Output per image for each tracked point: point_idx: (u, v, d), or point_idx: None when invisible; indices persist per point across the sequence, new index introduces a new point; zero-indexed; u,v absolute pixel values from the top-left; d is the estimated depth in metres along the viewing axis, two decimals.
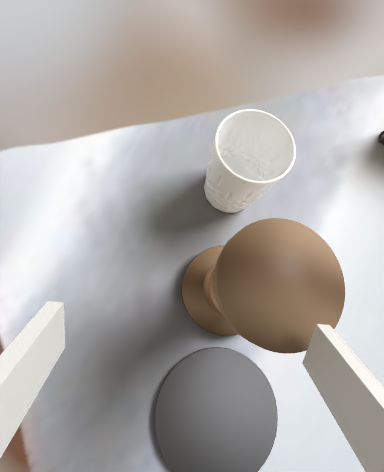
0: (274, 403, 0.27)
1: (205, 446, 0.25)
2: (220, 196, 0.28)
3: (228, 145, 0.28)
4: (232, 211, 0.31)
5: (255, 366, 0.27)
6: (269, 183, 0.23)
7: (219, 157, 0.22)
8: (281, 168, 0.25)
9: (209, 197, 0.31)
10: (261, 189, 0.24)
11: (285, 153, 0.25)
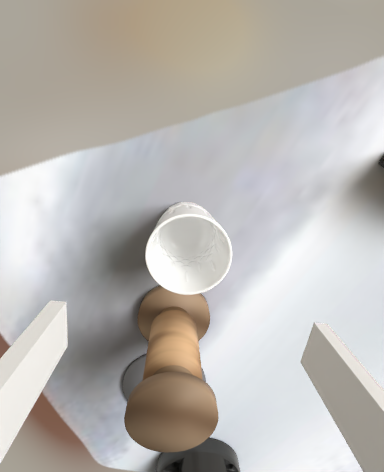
0: None
1: None
2: None
3: None
4: None
5: None
6: None
7: (149, 271, 0.23)
8: (220, 261, 0.25)
9: None
10: None
11: (225, 251, 0.24)
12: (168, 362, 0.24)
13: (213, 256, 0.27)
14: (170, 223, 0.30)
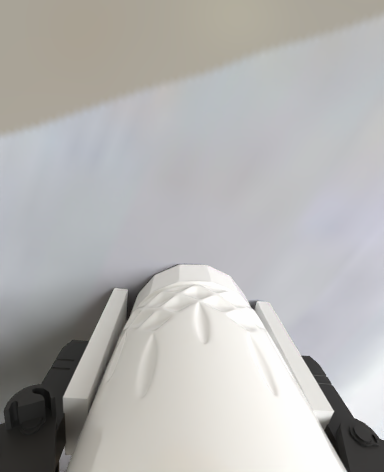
0: None
1: None
2: None
3: None
4: None
5: None
6: None
7: None
8: None
9: None
10: None
11: None
12: None
13: None
14: None
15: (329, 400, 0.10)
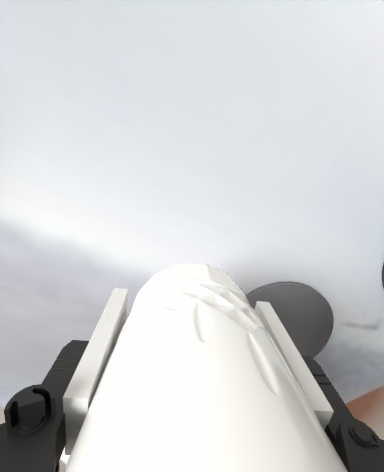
0: (271, 288, 0.27)
1: (301, 337, 0.30)
2: None
3: None
4: None
5: None
6: None
7: None
8: None
9: None
10: None
11: None
12: None
13: None
14: None
15: (329, 400, 0.10)
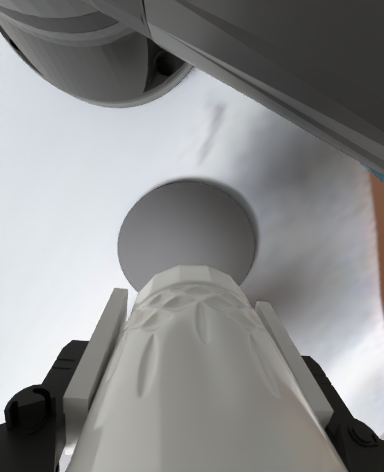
0: (120, 258, 0.23)
1: (202, 225, 0.23)
2: None
3: None
4: None
5: None
6: None
7: None
8: None
9: None
10: None
11: None
12: None
13: None
14: None
15: (329, 400, 0.10)
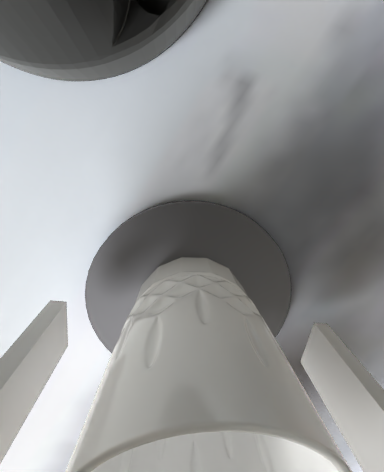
0: (90, 314, 0.16)
1: None
2: None
3: None
4: None
5: None
6: None
7: None
8: (293, 469, 0.09)
9: None
10: None
11: (317, 464, 0.08)
12: None
13: None
14: None
15: None
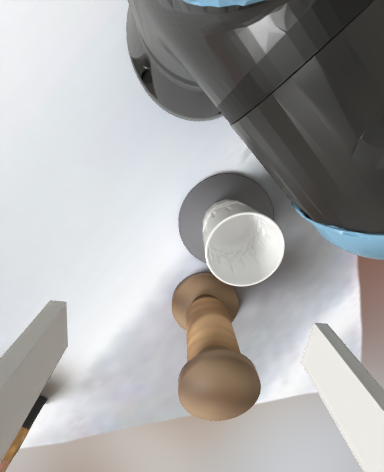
0: (179, 224, 0.33)
1: None
2: None
3: None
4: None
5: (190, 250, 0.35)
6: None
7: (207, 262, 0.24)
8: (268, 257, 0.27)
9: None
10: None
11: (275, 248, 0.26)
12: None
13: (257, 252, 0.29)
14: None
15: None
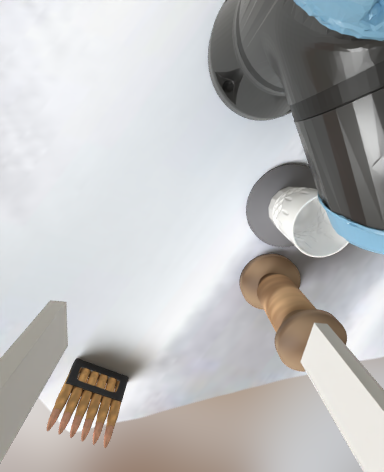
0: (248, 211, 0.38)
1: None
2: None
3: None
4: None
5: (257, 234, 0.40)
6: None
7: (293, 238, 0.29)
8: None
9: (272, 220, 0.38)
10: None
11: None
12: None
13: (325, 229, 0.34)
14: None
15: None
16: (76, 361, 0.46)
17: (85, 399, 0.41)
